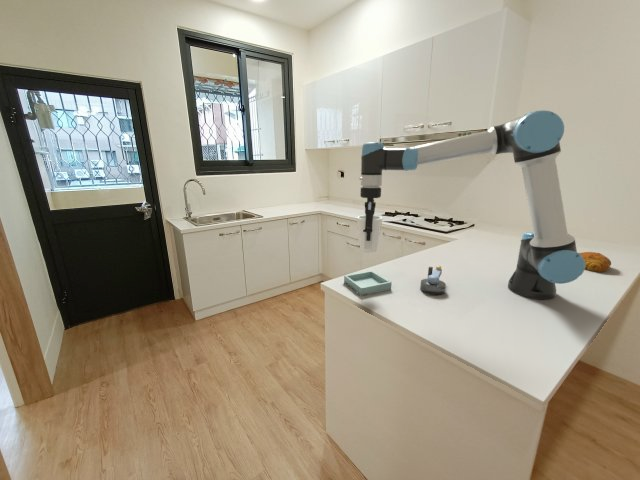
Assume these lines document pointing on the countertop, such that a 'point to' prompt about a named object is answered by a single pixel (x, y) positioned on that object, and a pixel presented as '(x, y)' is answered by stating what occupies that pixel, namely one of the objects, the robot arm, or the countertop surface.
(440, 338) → the countertop surface
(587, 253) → the croissant
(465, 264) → the countertop surface
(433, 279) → the crank
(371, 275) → the tray
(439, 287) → the crank base
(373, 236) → the foam cup
